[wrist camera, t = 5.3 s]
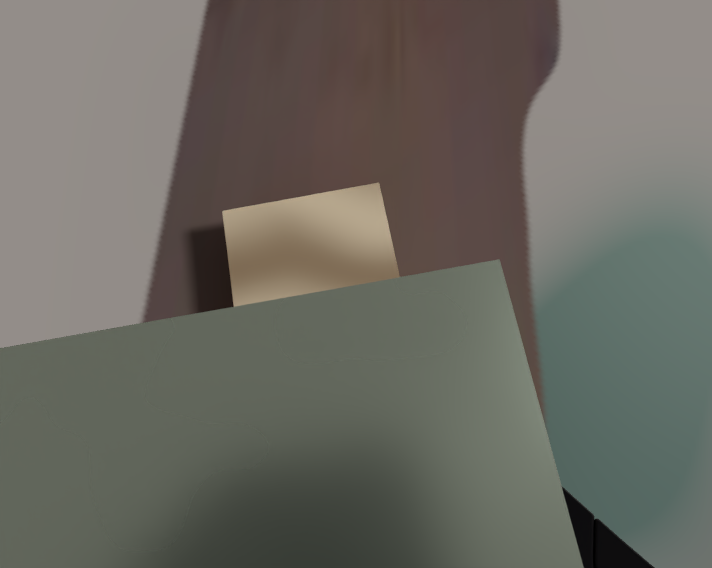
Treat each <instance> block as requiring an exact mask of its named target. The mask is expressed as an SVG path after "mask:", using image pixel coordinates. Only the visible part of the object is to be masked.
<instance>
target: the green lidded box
mask: <svg viewBox="0 0 712 568" xmlns="http://www.w3.org/2000/svg"><path fill="white" fill-rule="evenodd" d="M0 568H584V567H583V563H582V560H581V556H580V552H579V549H578V545H577V541H576V538H575V534H574V530H573V527H572V523H571V519H570V516H569V512H568V508H567V505H566V501H565V497H564V494H563V490H562V486H561V483H560V479H559V475H558V472H557V468H556V465H555V461H554V457H553V454H552V450H551V446H550V442H549V439H548V435H547V431H546V428H545V424H544V421H543V417H542V413H541V410H540V406H539V402H538V399H537V395H536V391H535V388H534V384H533V380H532V377H531V373H530V369H529V366H528V362H527V358H526V355H525V351H524V347H523V344H522V340H521V336H520V333H519V329H518V325H517V322H516V318H515V314H514V311H513V307H512V303H511V300H510V296H509V292H508V289H507V285H506V282H505V278H504V274H503V271H502V267H501V263H500V260H494V261H488V262H483V263H477V264H471V265H466V266H460V267H455V268H449V269H443V270H438V271H432V272H427V273H421V274H415V275H410V276H404V277H398V278H393V279H387V280H382V281H376V282H370V283H365V284H359V285H353V286H348V287H342V288H337V289H331V290H325V291H320V292H314V293H308V294H303V295H297V296H292V297H286V298H280V299H275V300H269V301H263V302H258V303H252V304H247V305H241V306H235V307H230V308H224V309H218V310H213V311H207V312H202V313H196V314H190V315H185V316H179V317H174V318H168V319H162V320H157V321H151V322H145V323H140V324H134V325H129V326H123V327H117V328H112V329H106V330H100V331H95V332H90V333H84V334H78V335H72V336H67V337H61V338H55V339H50V340H44V341H39V342H33V343H27V344H22V345H16V346H10V347H5V348H0Z"/></svg>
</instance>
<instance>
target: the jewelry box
mask: <svg viewBox="0 0 712 568" xmlns="http://www.w3.org/2000/svg"><path fill="white" fill-rule="evenodd" d="M222 212H223V220H224V229H225V237H226V245H227V254H228V262H229V270H230V279H231V287H232V296H233V304H234V307H235V306H241V305H247V304H252V303H258V302H263V301H269V300H275V299H280V298H286V297H292V296H297V295H303V294H308V293H314V292H320V291H325V290H331V289H337V288H342V287H348V286H353V285H359V284H365V283H370V282H376V281H382V280H387V279H393V278H398V277H400V276H399V272H398V267H397V263H396V258H395V253H394V249H393V244H392V240H391V235H390V231H389V226H388V222H387V217H386V213H385V208H384V203H383V199H382V194H381V190H380V185H379V183H375V184H369V185H363V186H358V187H352V188H347V189H341V190H336V191H330V192H325V193H319V194H314V195H308V196H303V197H297V198H292V199H286V200H281V201H275V202H270V203H264V204H258V205H253V206H247V207H242V208H236V209H231V210H225V211H222Z"/></svg>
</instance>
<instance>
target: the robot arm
mask: <svg viewBox="0 0 712 568" xmlns="http://www.w3.org/2000/svg"><path fill="white" fill-rule="evenodd" d="M562 490H563V494H564V497H565V501H566V505H567V508H568V512H569V516H570V519H571V523H572V527H573V530H574V534H575V538H576V541H577V545H578V549H579V552H580V556H581V560H582V563H583V567H584V568H654V567H653V566H652V565H651V564H649V563H648V562H647V561H646V560H645V559H643V558H642V557H641V556H640V555H639V554H638V553H637V552H635V551H634V550H633V549H632V548H631V547H629V546H628V545H627V544H626V543H625V542H624V541H622V540H621V539H620V538H619V537H618V536H617V535H616V534H615V533H614V532H612V531H611V530H610V529H609V528H608V527H607V526H606V525H605V524H603V523H602V522H601V521H600V520H599V519H595V520H594V515H593V514H592V513H591V512H590V511H589V510H587V508H585V507H584V506H583V505H582V504H581V503H580V502H579V501H578V500H577V499H575V498H574V497H573V496H572V495H571V494H570V493H569V492H568V491H567V490H565V489H564V488H563V487H562Z"/></svg>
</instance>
